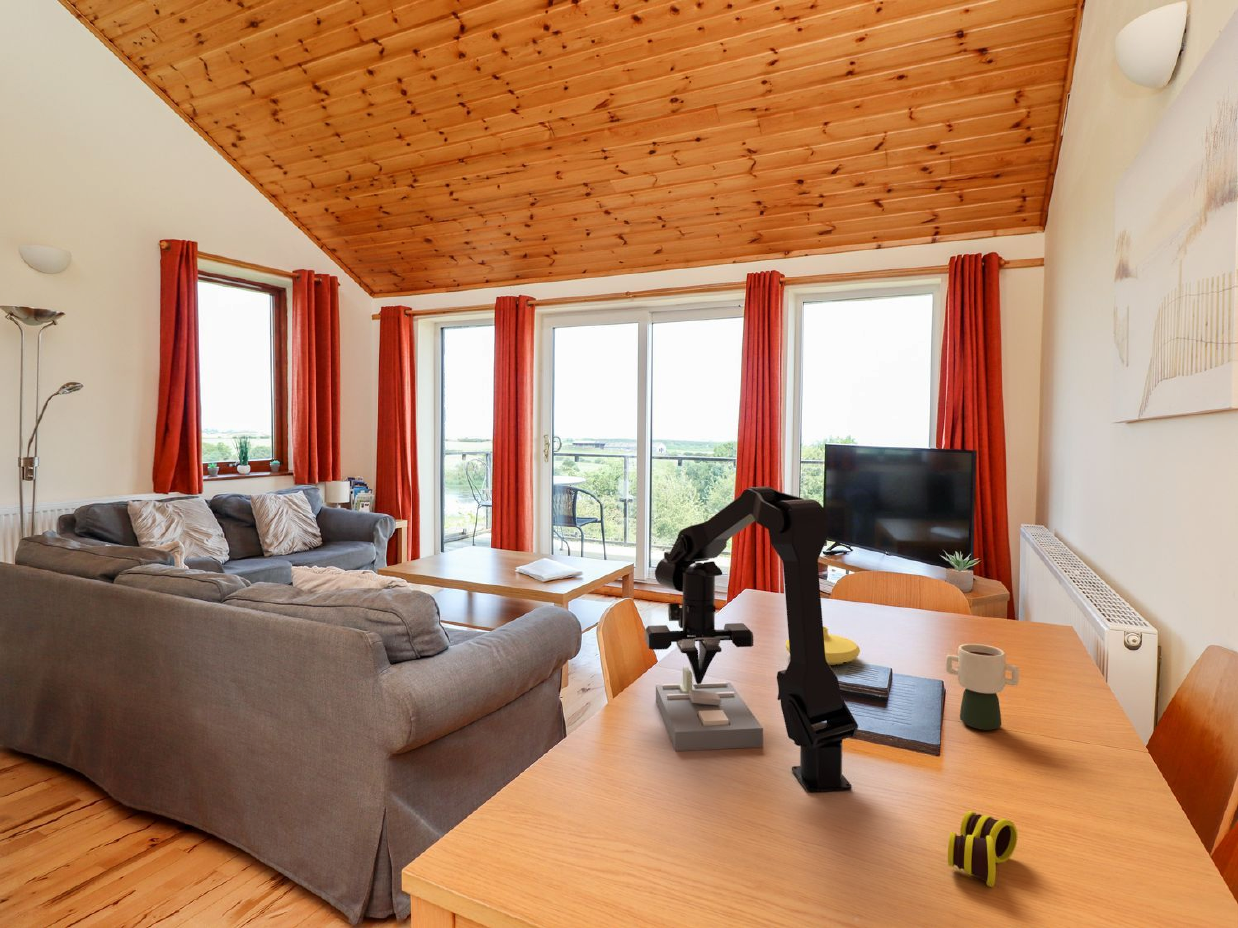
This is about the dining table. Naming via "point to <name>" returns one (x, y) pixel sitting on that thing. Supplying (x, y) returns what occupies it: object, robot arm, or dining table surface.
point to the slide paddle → (686, 681)
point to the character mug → (981, 683)
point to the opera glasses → (982, 845)
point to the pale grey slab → (704, 697)
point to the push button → (713, 718)
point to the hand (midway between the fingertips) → (698, 683)
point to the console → (694, 736)
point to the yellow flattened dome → (837, 648)
